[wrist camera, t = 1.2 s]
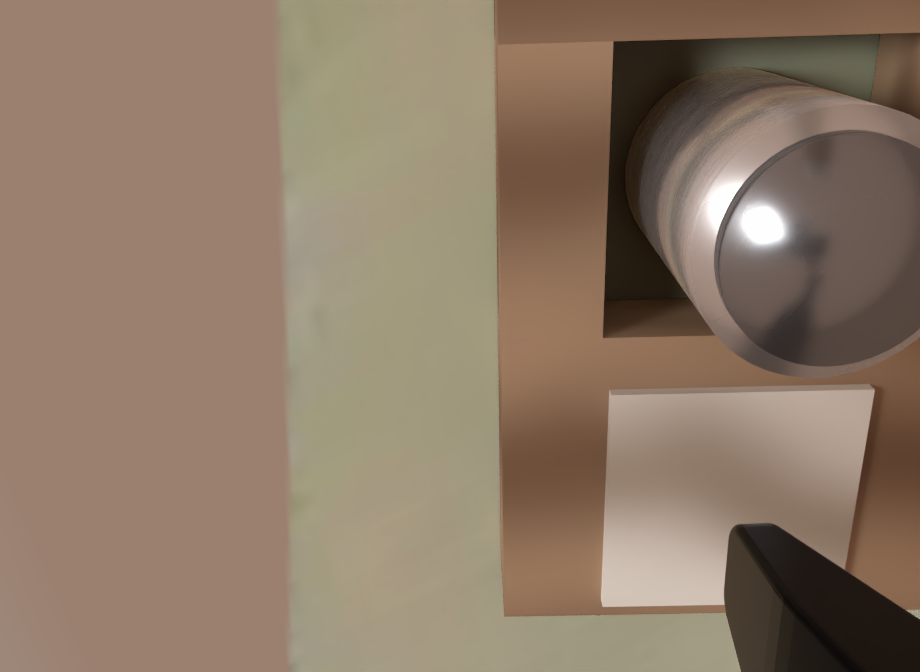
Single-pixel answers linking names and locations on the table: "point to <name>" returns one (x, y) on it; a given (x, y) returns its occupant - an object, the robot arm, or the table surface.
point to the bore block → (668, 351)
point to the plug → (785, 217)
